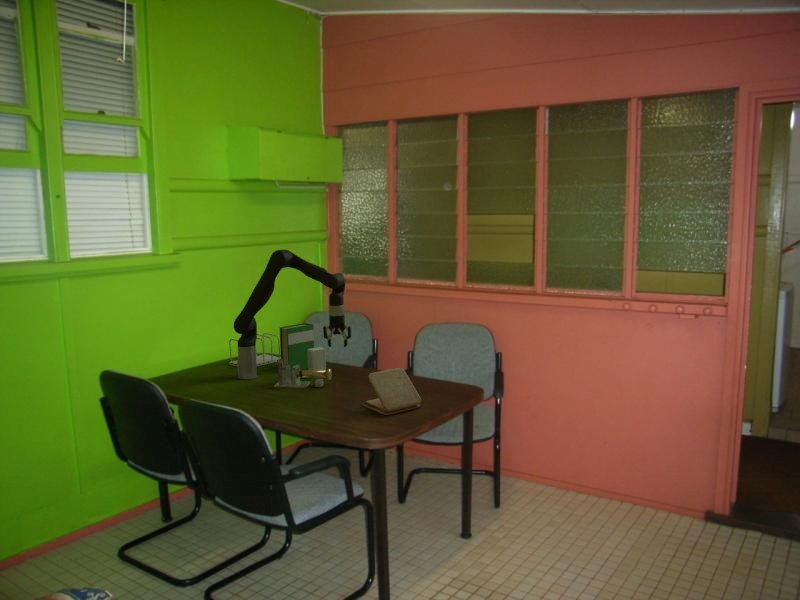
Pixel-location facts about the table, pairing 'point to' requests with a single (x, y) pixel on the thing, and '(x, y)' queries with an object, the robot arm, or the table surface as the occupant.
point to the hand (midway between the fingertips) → (337, 346)
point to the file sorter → (260, 358)
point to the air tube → (315, 373)
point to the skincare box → (316, 359)
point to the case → (392, 392)
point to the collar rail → (286, 379)
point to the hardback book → (296, 344)
